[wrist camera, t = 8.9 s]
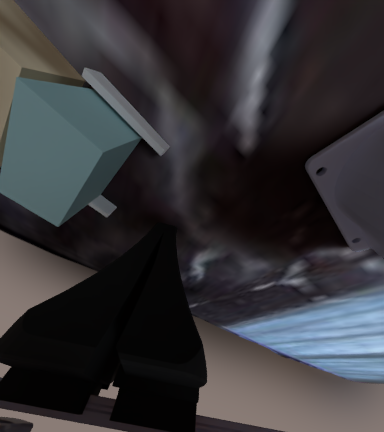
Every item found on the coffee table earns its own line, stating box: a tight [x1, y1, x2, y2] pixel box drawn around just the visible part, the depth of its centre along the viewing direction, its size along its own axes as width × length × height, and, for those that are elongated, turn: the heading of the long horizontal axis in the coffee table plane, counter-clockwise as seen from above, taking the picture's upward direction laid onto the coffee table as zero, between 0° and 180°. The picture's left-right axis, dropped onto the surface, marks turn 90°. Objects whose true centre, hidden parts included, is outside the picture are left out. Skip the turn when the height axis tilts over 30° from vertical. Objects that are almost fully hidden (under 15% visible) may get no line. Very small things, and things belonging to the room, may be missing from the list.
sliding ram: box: [0, 77, 142, 227], centre depth 8 cm, size 3×6×4 cm, turn 134°
